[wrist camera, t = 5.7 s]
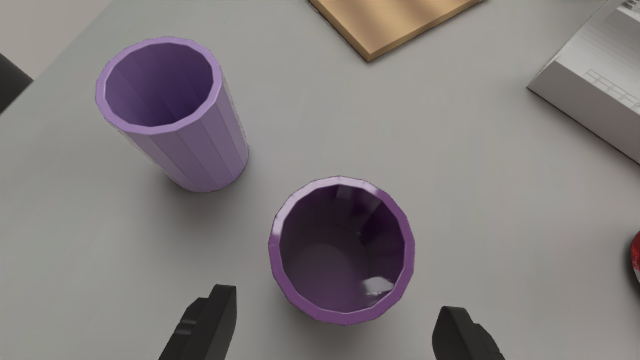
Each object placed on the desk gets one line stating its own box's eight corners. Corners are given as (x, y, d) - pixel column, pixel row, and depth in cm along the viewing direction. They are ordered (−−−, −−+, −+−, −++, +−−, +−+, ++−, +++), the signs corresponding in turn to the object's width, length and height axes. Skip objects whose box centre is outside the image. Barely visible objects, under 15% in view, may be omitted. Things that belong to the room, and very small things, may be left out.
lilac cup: (188, 208, 21) (124, 156, 13) (152, 144, 22) (77, 67, 15) (263, 164, 22) (243, 96, 15) (224, 108, 24) (188, 21, 16)
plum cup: (317, 336, 18) (325, 361, 11) (265, 253, 20) (241, 225, 12) (391, 276, 20) (444, 262, 12) (337, 204, 21) (355, 153, 14)
